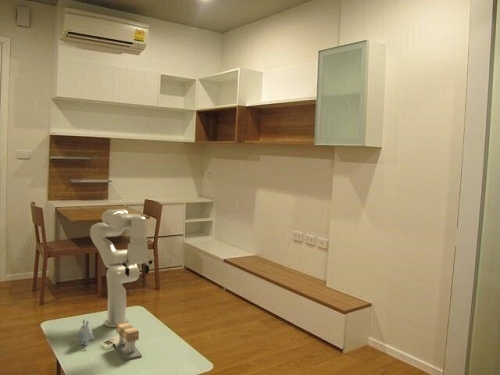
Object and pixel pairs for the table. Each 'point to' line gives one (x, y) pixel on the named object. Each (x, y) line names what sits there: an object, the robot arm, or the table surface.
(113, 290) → the robot arm
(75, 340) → the table surface
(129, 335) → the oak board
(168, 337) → the table surface
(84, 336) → the toy figure
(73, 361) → the table surface
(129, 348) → the peg stand
